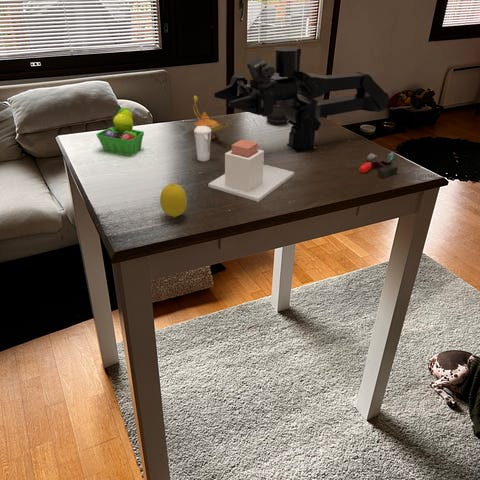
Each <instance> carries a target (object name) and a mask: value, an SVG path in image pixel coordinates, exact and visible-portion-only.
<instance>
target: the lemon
mask: <svg viewBox="0 0 480 480" xmlns="http://www.w3.org/2000/svg"><path fill="white" fill-rule="evenodd" d="M159 201H160V207H161V209H162V211H163V212H164V213H165V215H167V216H168V217H169V216H170V217H172V218H173V219H175V218H177V217H178V216H180V215H182V214H184V212H185V211H186V208H187V205H188V203H187V202H188V199H187V194H186V191H185V190H184V188H183V187H182V186H181V185H179V184H177V183H175V182H171V183H169V184H167V185H165V187H163V189H161V193H160V198H159Z"/></svg>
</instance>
